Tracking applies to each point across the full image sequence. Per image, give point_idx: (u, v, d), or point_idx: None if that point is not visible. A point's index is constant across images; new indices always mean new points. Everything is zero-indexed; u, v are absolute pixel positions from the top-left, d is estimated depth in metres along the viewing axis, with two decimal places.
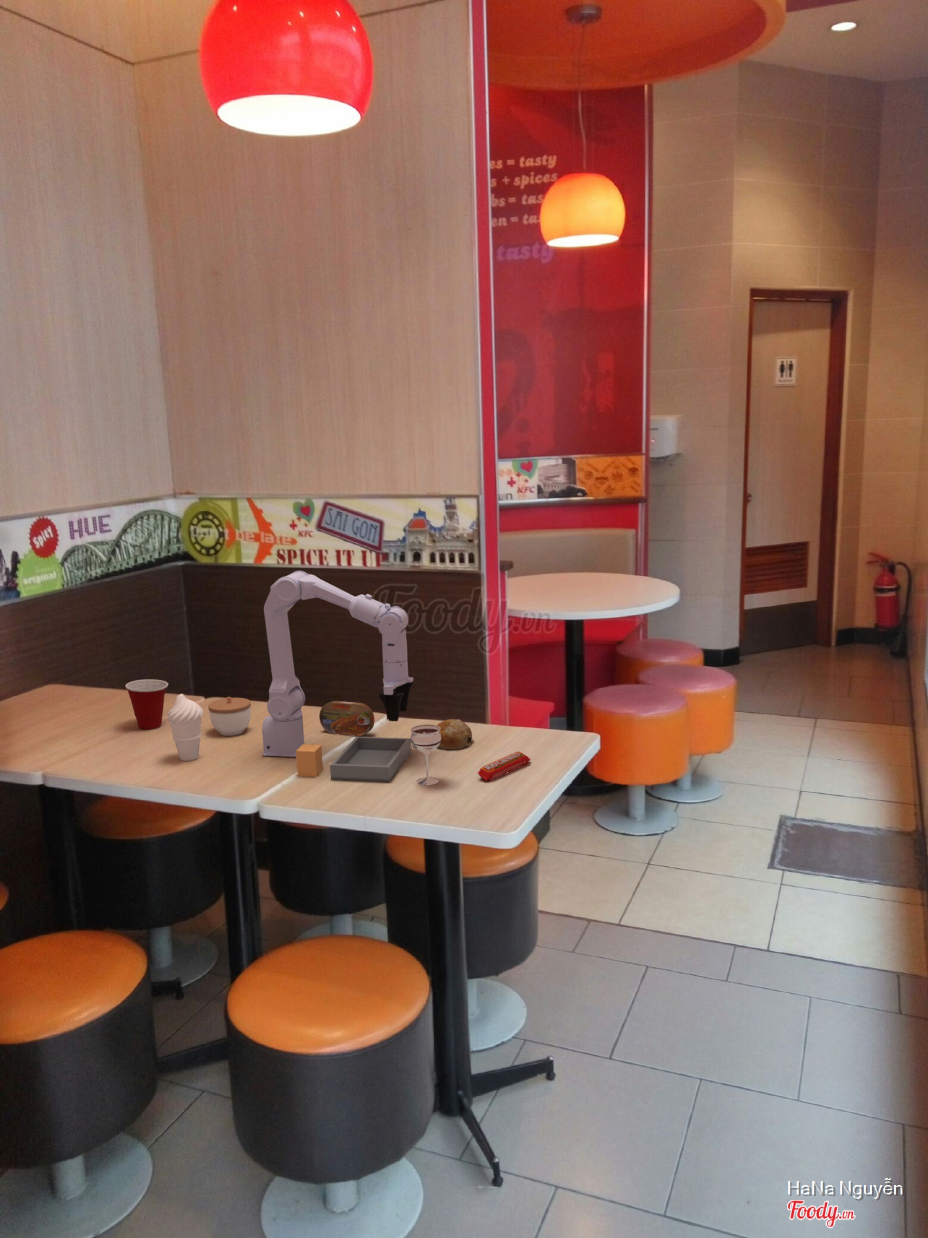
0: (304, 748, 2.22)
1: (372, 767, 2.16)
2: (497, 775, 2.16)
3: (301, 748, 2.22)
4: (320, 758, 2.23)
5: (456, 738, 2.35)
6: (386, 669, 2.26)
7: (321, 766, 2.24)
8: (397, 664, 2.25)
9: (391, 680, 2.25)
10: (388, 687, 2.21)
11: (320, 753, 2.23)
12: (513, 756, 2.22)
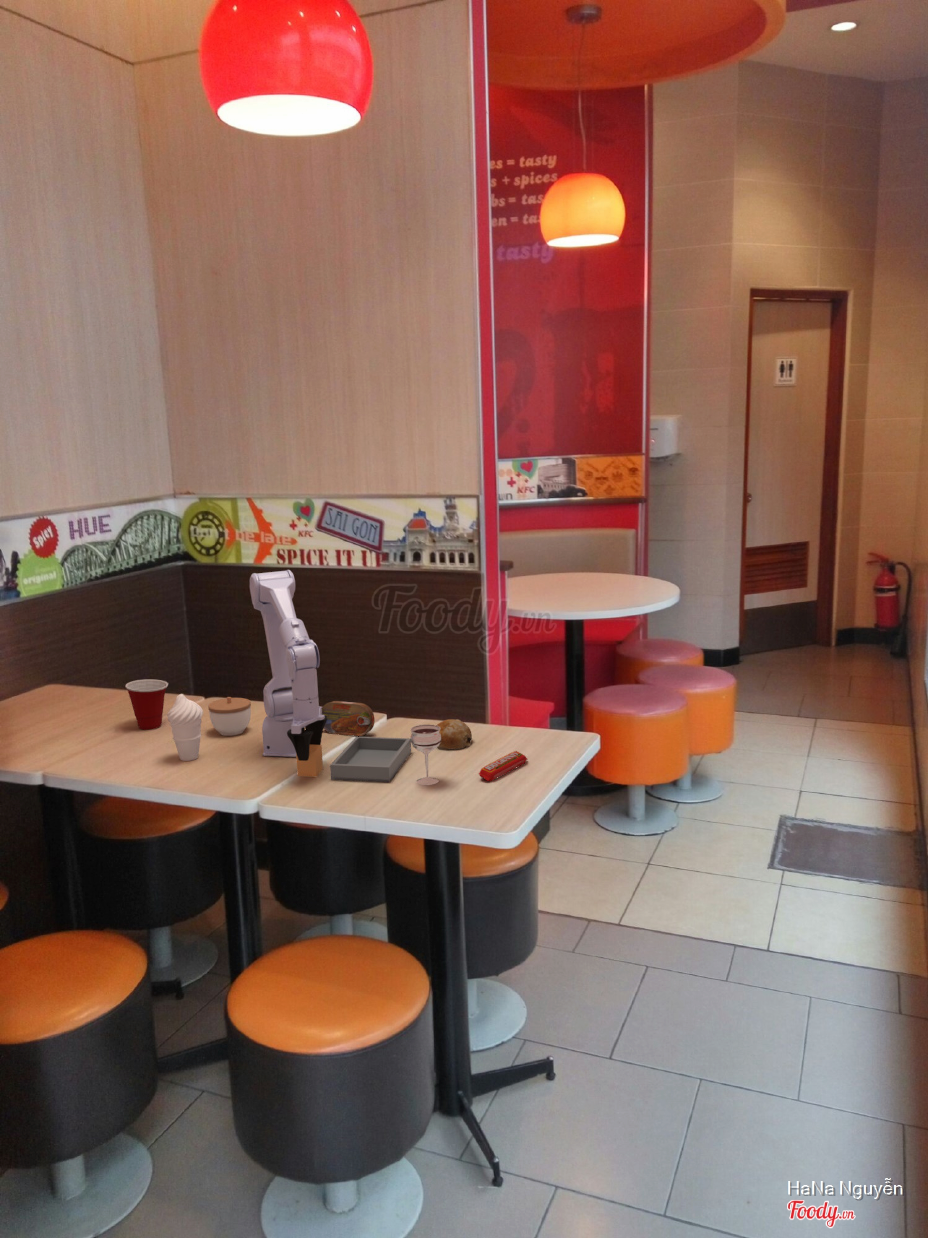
0: None
1: (372, 767, 2.16)
2: (498, 775, 2.16)
3: None
4: (320, 758, 2.23)
5: (455, 738, 2.35)
6: (295, 706, 2.18)
7: (321, 766, 2.24)
8: (306, 702, 2.17)
9: (300, 718, 2.18)
10: (295, 726, 2.14)
11: (320, 753, 2.23)
12: (511, 756, 2.22)
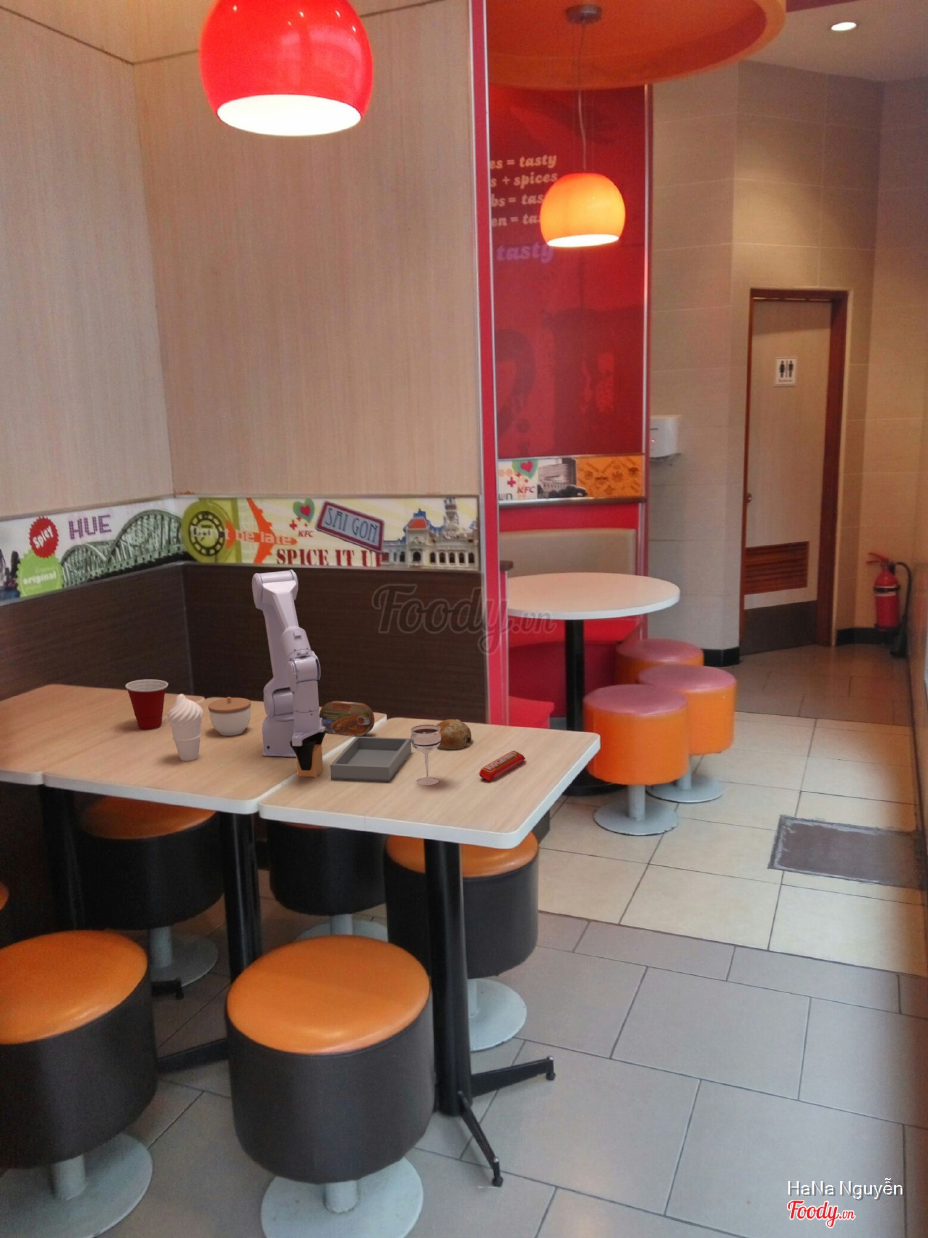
0: None
1: (372, 767, 2.16)
2: (498, 775, 2.16)
3: None
4: (320, 757, 2.23)
5: (455, 738, 2.35)
6: (296, 718, 2.18)
7: (321, 766, 2.24)
8: (307, 714, 2.18)
9: (301, 730, 2.18)
10: (296, 738, 2.14)
11: (320, 753, 2.23)
12: (510, 755, 2.23)
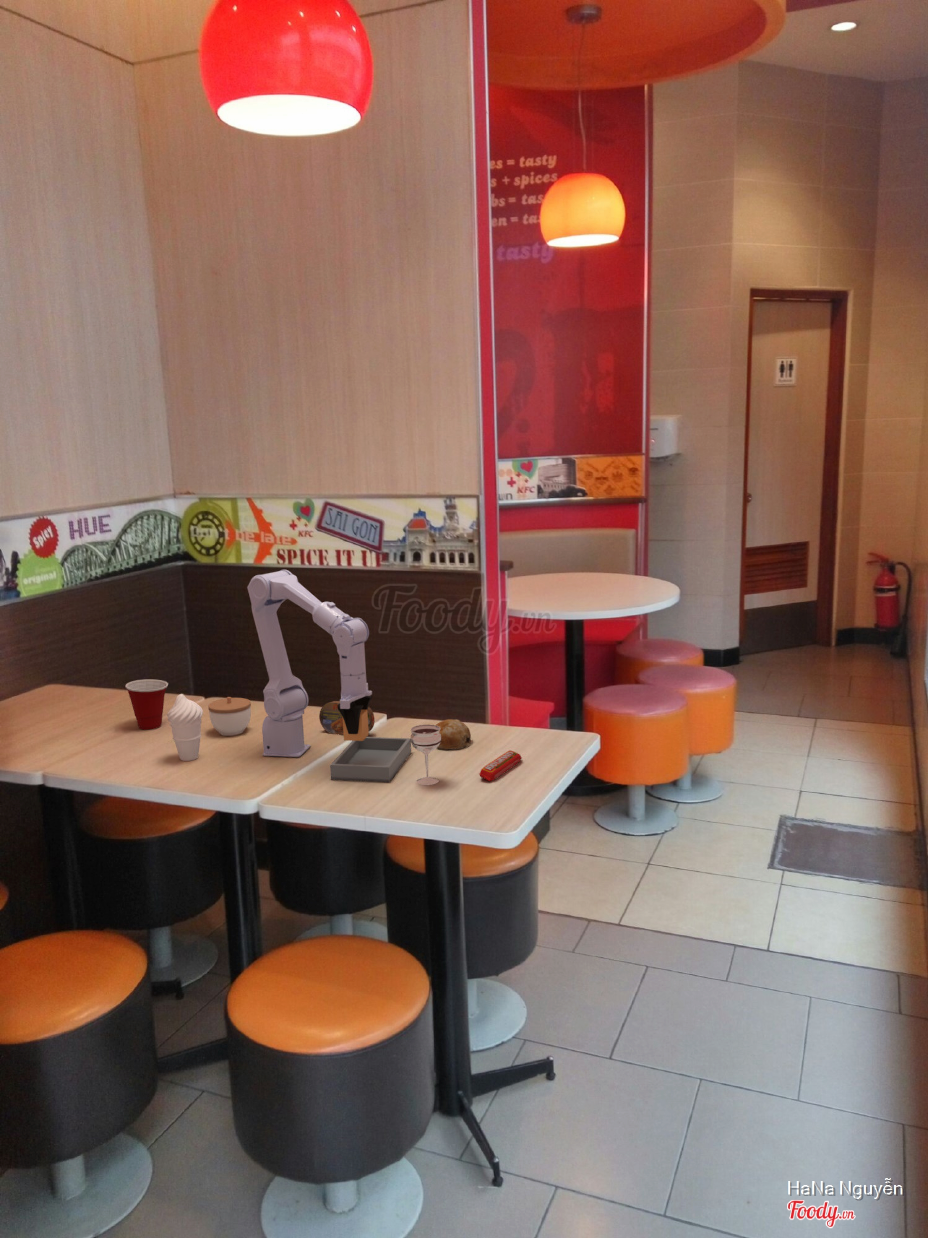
0: None
1: (372, 767, 2.16)
2: (498, 775, 2.16)
3: None
4: (366, 722, 2.24)
5: (454, 738, 2.35)
6: (344, 682, 2.19)
7: (367, 731, 2.25)
8: (354, 677, 2.19)
9: (349, 694, 2.19)
10: (344, 701, 2.15)
11: (366, 717, 2.24)
12: (507, 755, 2.23)
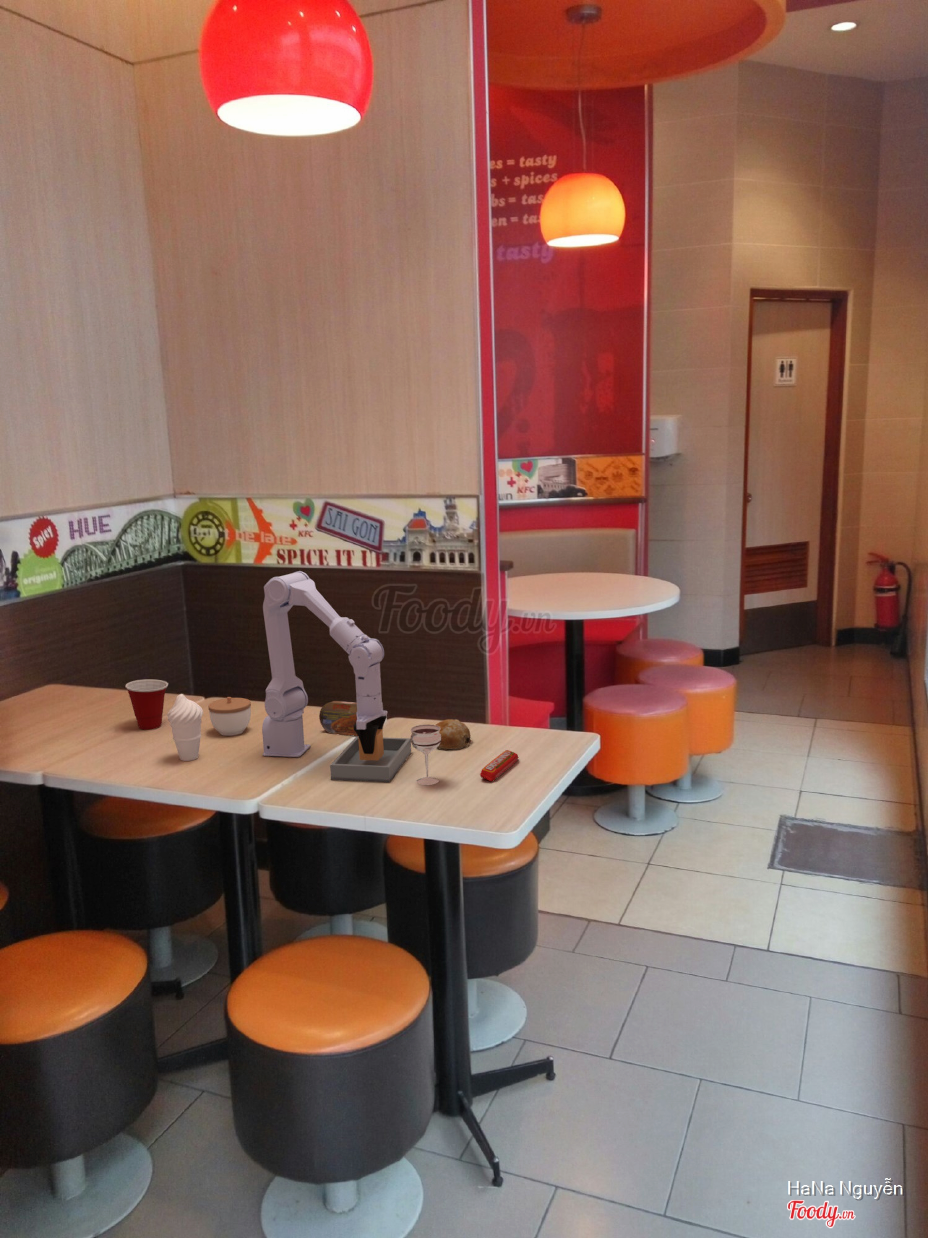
0: None
1: (372, 767, 2.16)
2: (498, 775, 2.16)
3: None
4: (381, 742, 2.26)
5: (454, 738, 2.35)
6: (359, 702, 2.21)
7: (382, 750, 2.27)
8: (370, 698, 2.20)
9: (364, 714, 2.21)
10: (361, 722, 2.17)
11: (381, 737, 2.26)
12: (505, 755, 2.23)
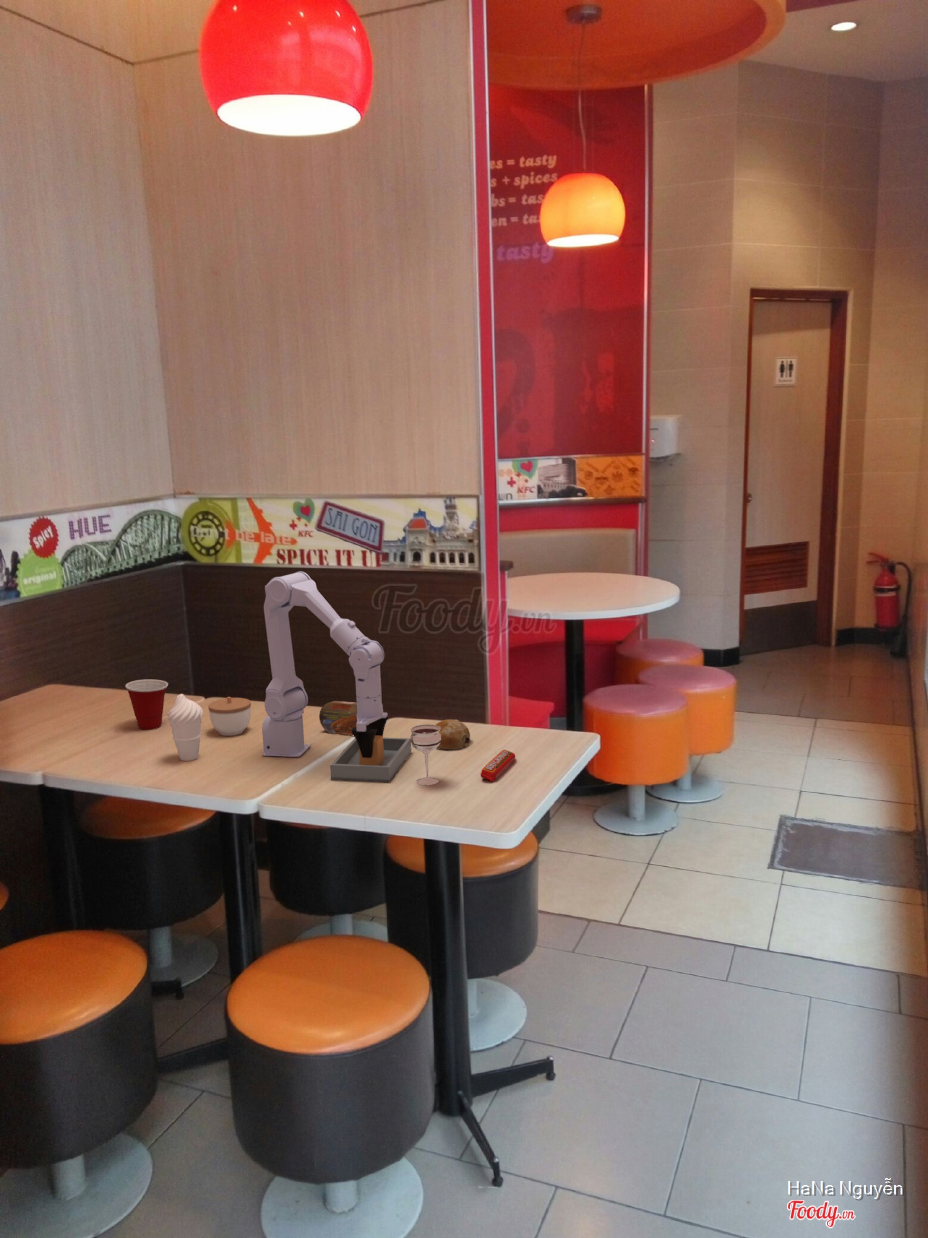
0: None
1: (372, 767, 2.16)
2: (498, 774, 2.16)
3: None
4: (382, 748, 2.26)
5: (454, 738, 2.35)
6: (359, 704, 2.21)
7: (382, 757, 2.27)
8: (370, 700, 2.20)
9: (364, 716, 2.21)
10: (361, 724, 2.17)
11: (381, 744, 2.26)
12: (503, 754, 2.23)
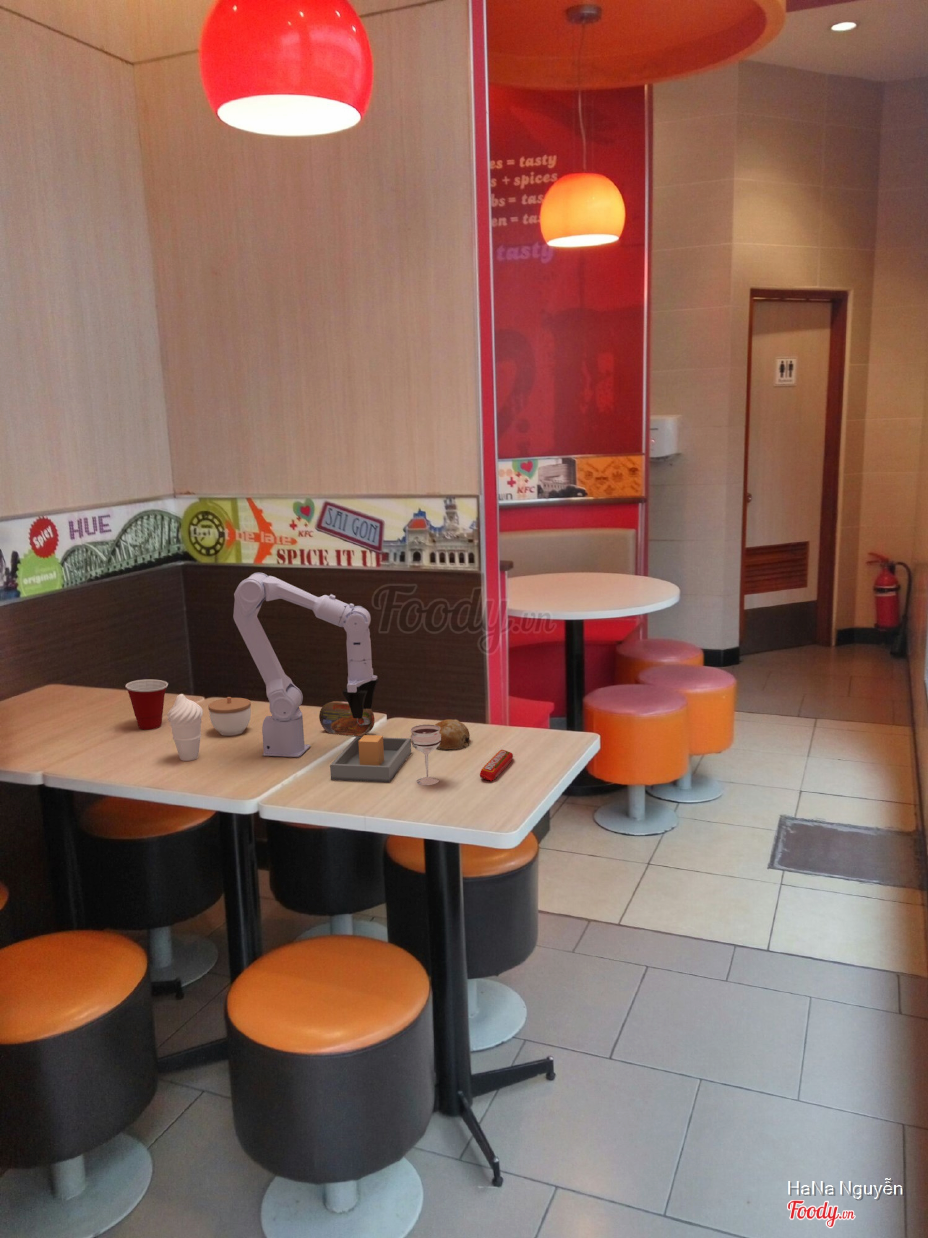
0: (366, 739, 2.25)
1: (372, 767, 2.16)
2: (497, 774, 2.17)
3: (363, 738, 2.25)
4: (382, 748, 2.26)
5: (453, 738, 2.35)
6: (350, 667, 2.31)
7: (382, 757, 2.27)
8: (361, 662, 2.30)
9: (355, 678, 2.31)
10: (351, 685, 2.26)
11: (381, 744, 2.26)
12: (501, 754, 2.24)
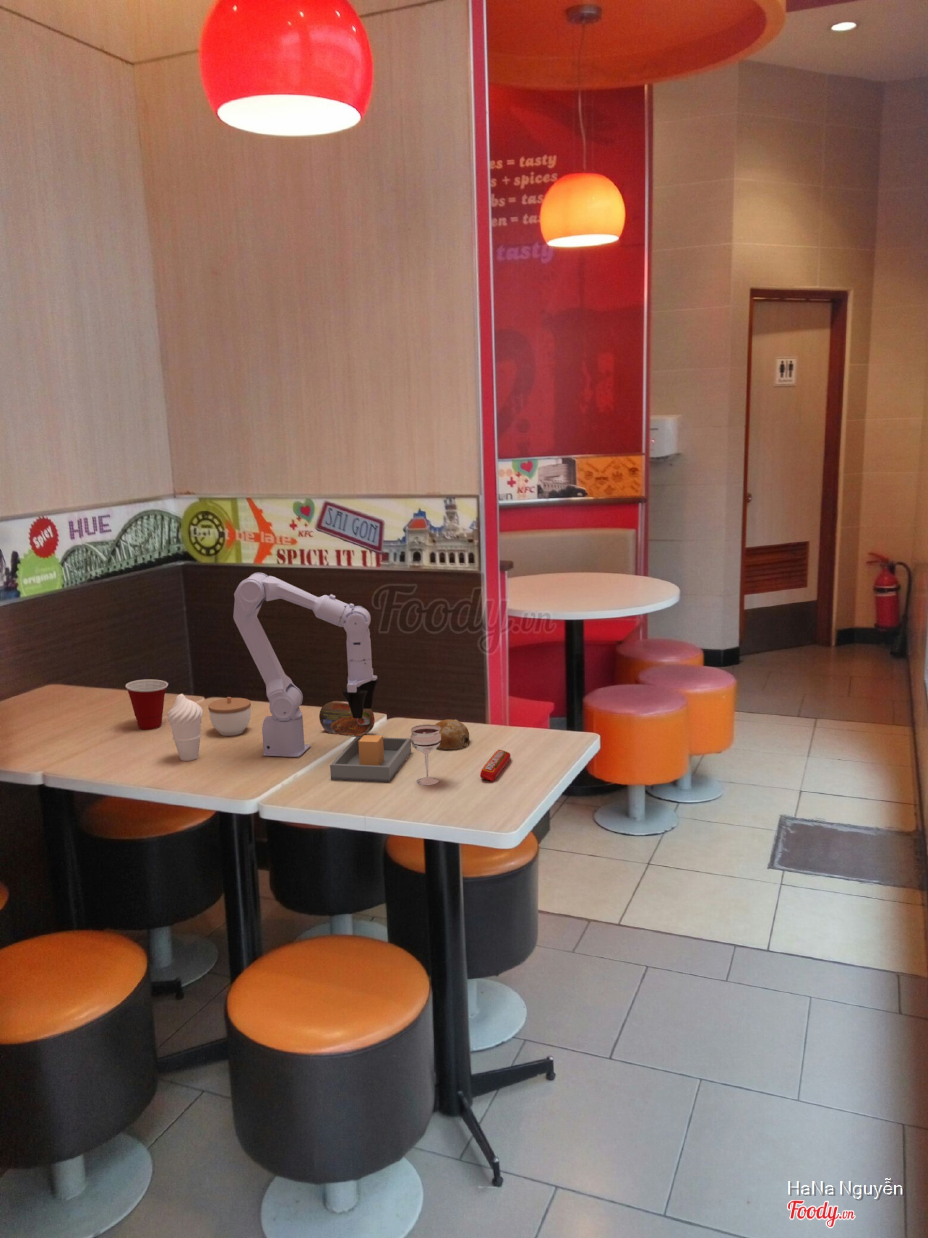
0: (366, 739, 2.25)
1: (372, 767, 2.16)
2: (497, 774, 2.17)
3: (363, 738, 2.25)
4: (382, 748, 2.26)
5: (453, 738, 2.35)
6: (350, 667, 2.31)
7: (382, 757, 2.27)
8: (361, 662, 2.30)
9: (355, 678, 2.31)
10: (351, 685, 2.26)
11: (381, 744, 2.26)
12: (500, 754, 2.24)
